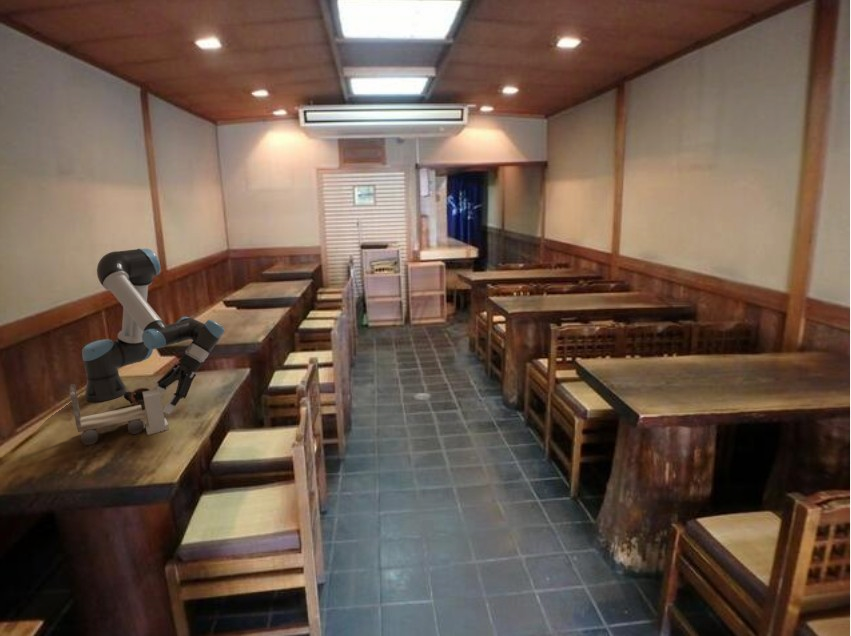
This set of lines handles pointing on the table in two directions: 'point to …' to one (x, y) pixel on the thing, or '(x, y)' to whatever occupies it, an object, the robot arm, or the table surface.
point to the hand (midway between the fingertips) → (158, 408)
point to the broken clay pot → (136, 396)
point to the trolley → (105, 419)
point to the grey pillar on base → (154, 412)
